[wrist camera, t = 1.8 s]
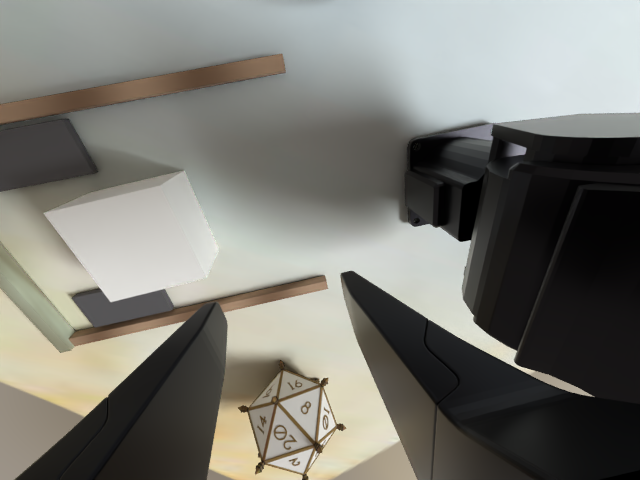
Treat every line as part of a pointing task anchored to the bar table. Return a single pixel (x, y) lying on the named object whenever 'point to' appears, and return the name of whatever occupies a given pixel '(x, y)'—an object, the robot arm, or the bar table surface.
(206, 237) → the block
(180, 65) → the bar table surface
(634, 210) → the robot arm
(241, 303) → the wood-trimmed serving tray
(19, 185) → the dark grey rectangular slab
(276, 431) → the game die
